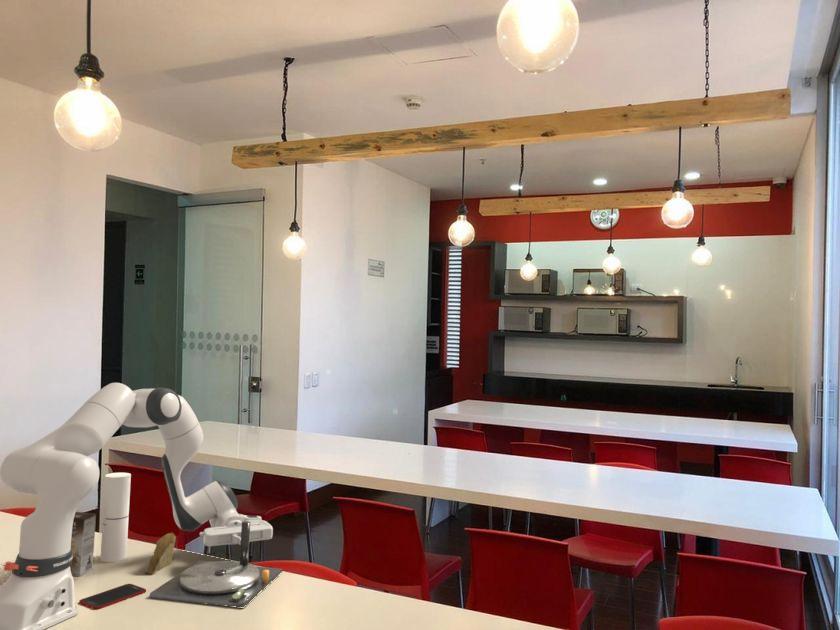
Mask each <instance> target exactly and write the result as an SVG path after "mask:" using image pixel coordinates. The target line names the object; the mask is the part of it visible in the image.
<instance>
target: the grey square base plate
mask: <svg viewBox="0 0 840 630" xmlns="http://www.w3.org/2000/svg"><path fill="white" fill-rule="evenodd" d="M207 562H211V561H209V560H201V559H200V560H198V561H196V562H195V563H194V564H192V565H190V566H189V567H187V568H186V569H188V568H190V567H192V566H195V565H198V564H202V563H207ZM255 566H256V567H257V568H258V569H259V580H258V581H257V582H256V583H255V584H254V585H252V586H251V587H248V588H246V589H240V590H239V591H236V592H231V593H223V594H201V593H195V592H191V591H188V590H186V589H184V588H182V587H181V585H180V575H181V573H182V572H183V571H185V570H186V569H185V570H183V571H181V572H180V573H179V574H176V575H175V576H174V577H172V578H171V579H169V580H168V581H166V582H164V584H163V583H162V584H161V585H160V586H159V587H157V588H156V589H154V590H152V591H151V592H149V598H150V599H156V600H166V601H173V600H176V601H175V602H182V601H185V603H191V602H194V603H193V604H200V603H207V604H206V605H208V604H217V605H227V606H236V607H244V606H245V605H247V604H248V603H249V602H250V601H251V600H252V599H253V598H254V597H255V596H256V595H257V594H258V593H259V592H260V591H261V590H263V589H264V588H265V587H266V586H267V585H268V584H269V583H270V582H271V581H273V580H274V579H275V578H276V577H277V576H278V575H279V574H280V573H281V572H282V573H283V568H278V567H276V568H275V567H267V566H257V565H255ZM263 570H269V582H268V583H262V571H263ZM278 577H279V576H278ZM278 577H277V578H278ZM277 578H276V579H277ZM276 579H275V580H276ZM275 580H274V581H275ZM274 581H273V582H274ZM265 589H266V588H265ZM265 589H264V590H265ZM264 590H263V591H264ZM252 601H253V600H252ZM252 601H251V602H252ZM251 602H250V603H251ZM250 603H249V604H250ZM249 604H248V605H249ZM217 605H216V606H217ZM248 605H247V606H248Z"/></svg>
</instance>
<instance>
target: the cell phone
mask: <svg viewBox="0 0 840 630" xmlns="http://www.w3.org/2000/svg"><path fill="white" fill-rule="evenodd" d="M146 592H147V589H146V588H144V587H142V586H138V585H135V584H133V583H126V584H123V585H119V586H117V587H115V588H110V589H107V590H105V591H103V592H99V593H96V594H93V595H90V596H87V597H84V598H81V599H80V600H79V601H78V604H80V605H82V606H84V607H87V608H89V609H92V610H94V611H98V610H101V609H103V608H107V607H109V606H113V605H116V604H118V603H120V602H123V601H126V600H129V599H132V598H134V597H137V596H140V595H143V594H145V593H146Z"/></svg>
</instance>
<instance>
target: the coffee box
mask: <svg viewBox="0 0 840 630" xmlns="http://www.w3.org/2000/svg"><path fill="white" fill-rule="evenodd" d="M96 517H97V513H94V512H93V513H91V512H82V511H76V513H75V516H74V520H73V526H72V537H71V549H72V555H73V558H72V564H71V566H70V570H71V574H72V577H73V576H74V577H81V576H83V575H85V574H86V573H88V572H90V571H91V570H93V565H94V552H95V551H94V550H95V537H96V536H95V534H96V519H97V518H96Z"/></svg>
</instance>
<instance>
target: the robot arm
mask: <svg viewBox="0 0 840 630" xmlns="http://www.w3.org/2000/svg"><path fill="white" fill-rule="evenodd" d="M156 426H157V427H158V429H159V432H160V434H161V436H162V438H163V440H164V445H165V451H164V454H163V455H162V456H161V467H162V473H163V477H164V480H165V483H166V488H167V491H168V494H169V499H170V503H171V507H172V514H173V515H172V516H173V519H174V522H175V525H177V527H178V528H179V529H180V530H181V531H186V532H194V531H196V530H197V529H199V528H200V527H201V526H202V525H203V524H205V523H206V522H208V521H209V524H210V527H207V528H204V530H203V531H200V532H199V536H200V538H203V539H202V540H203V545H204V546H206V547H217V546H218V547H219V546H226V545H229V546H231V545H232V546H233V545H239V546H241V528H242V522H244V521H249V522H250V540H249V545H250V544H251V543H252V542H259V541H267V540H271V539H273V535H274V533H273V532H274V528H273V526H272V525H271V524H270V523H269V522H268V521H266V520H263V519H262V516H260V515H245V514H242V513H238V511H237V509H238V504H239V502H238V499H237V497H236V494H235V492H234V491H233V489H232V488H231V487H230V486H229V485H228V484H227V483H226V482H224V481H221V480H214V481H213V482H211V483H208V484H207V485H204V487H202V488H201V489H199V490H198V491H196V492H194V493H192V494H190V495H188V496H185V491H184V488H183V484H182V481H181V475H182V471H183V470H184V468H185V467H186V466H187V464H188V463H189V462H190V461H191V460H192V459H193V458H194V457H195V456H196V455H197V454H198V452H199V451H200V449H201V447H202V445H203V444H204V443H203V442H204V437H205V436H204V431H203V428H202V426H201V424H200V422H199V420H198V417H197V416H196V414H195V412H194V410H193V408H192V407H191V406H190V404H189V402H187V400H186V399H185V398H184V397H183V396H182V395H179V394H177V392H176V391H174V390H173V389H171V388H166V387H156V388H141V389H135V390H132V389H131V388H130V387H129V386H127V385H126V384H124V383H120V382H111V383H108V384H107V385H105V386H103V387H102V388H101V389H99V390H97V392H95V393H94V394H93V395H92V396H90V398H88V400H86V401H85V402H84V403H83V404H82V405H81V406H80V408H79V409H77V410H76V412H74V413H73V415H71V417H70V418H69V419H67V420H66V421H65V422H63V424H62V425H60V426H59V427H58V428H56V429H54V430H53V431H51V433H48V434H47V435H45V436H44V437H42V438H40V439H38V440H37V441H35V442H34V443H33V442H32V443H31V444H30V445H27V446H25V447H22V448H19V449H16V450H13V451H11V452H10V453H9V454H7V455H6V457H5V458H4V459H3V461H2V463H1V466H0V480H1V481H2V483H3V484H4V485H5V486H6V487H8V488H11V489H13V490H14V491H18V492H19V493H23V494H29V495H30V494H31V495H36V496H37V495H38V502H37V505H36V508H35V509H34V512H32V513H29V515H27V516H26V517H25V518H24V519H23V520H22V522H21V524H20V533H19V549H18V554H17V556H16V557H15V560H14V561H13V562H12V561H6V562H5V563H4V564H3V571H6V572H8V571H9V572H11V575H10V576H9V577H8V578H7V579H6V581H5V582H4V583H3V584H2V585H1V587H0V630H46V629H47V628H50V627H52V626H54V625H57V624H58V623H59V624H60V623H61V622H63V621H66V620H68V619H70V618H72V617H75V616H77V615H78V614H79V612H78V611H79V610H78V608H77V607H76V605H75V604H76V602H75V600H76V599H75V586H74V585H75V584H74V583H75V582H74V577H73V576H72V574H71V570H70V566H71V564H72V558H73V555H72V549H71V537H72V526H73V520H74V516H75V513H76V512H77V510H78V508H79V506H80V504H81V502H82V501H83V499H85V498H86V497H88V495H90V494H91V493H92V492H93V491H94V489H95V488H96V487H97V485H98V482H99V479H100V467H99V464H98V461H96V460H95V459H93V458H91V457H89V456H91V455H94V454H96V453H98V452H99V451H100V450H101V449H103V448H104V446H105V445H106V444H107V443H108V442H109V440H110V439H111V438H112V437H113V435H114V434H115V433H116V432H117V431H118V430H119V429H120V428H125V429H131V428H151V427H156ZM250 542H251V543H250Z"/></svg>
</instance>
